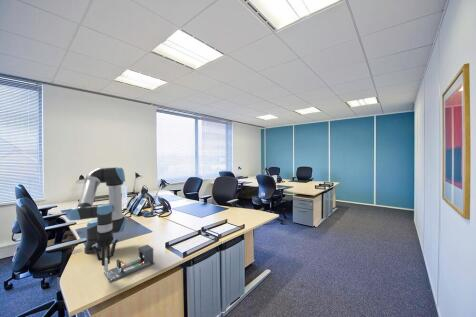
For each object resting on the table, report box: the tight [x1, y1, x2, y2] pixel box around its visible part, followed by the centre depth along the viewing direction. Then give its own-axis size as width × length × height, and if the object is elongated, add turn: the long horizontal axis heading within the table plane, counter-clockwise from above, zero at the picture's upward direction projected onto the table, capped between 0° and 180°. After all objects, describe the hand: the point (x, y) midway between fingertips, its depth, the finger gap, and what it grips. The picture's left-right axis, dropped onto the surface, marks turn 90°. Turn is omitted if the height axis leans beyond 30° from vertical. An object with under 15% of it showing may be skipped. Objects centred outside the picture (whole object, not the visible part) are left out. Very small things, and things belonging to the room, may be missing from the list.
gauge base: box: [103, 244, 156, 283], centre depth 128 cm, size 13×26×10 cm, turn 137°
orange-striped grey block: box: [115, 257, 141, 271], centre depth 127 cm, size 9×13×6 cm
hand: (105, 269), depth 118 cm, fingers closed
